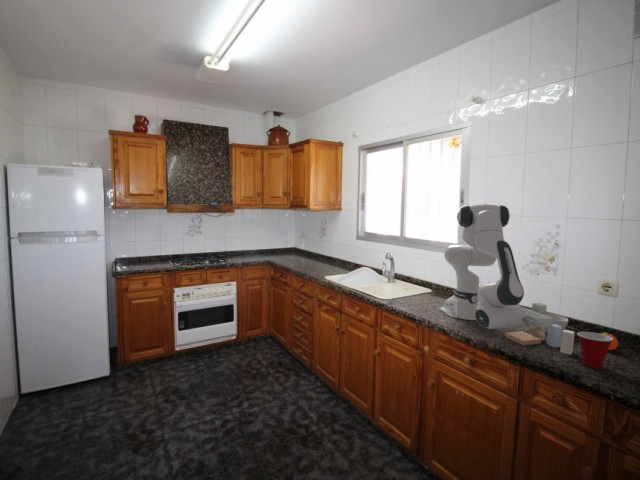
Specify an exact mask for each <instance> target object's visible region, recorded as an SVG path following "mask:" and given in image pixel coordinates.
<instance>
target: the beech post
mask: <svg viewBox="0 0 640 480" xmlns="http://www.w3.org/2000/svg"><path fill="white" fill-rule="evenodd" d="M531 335H533V336H535V337H537V338H540V339H541V342H543V341H545V338H546V336H545V335H546V332H545V327H535V326H532V334H531Z"/></svg>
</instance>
